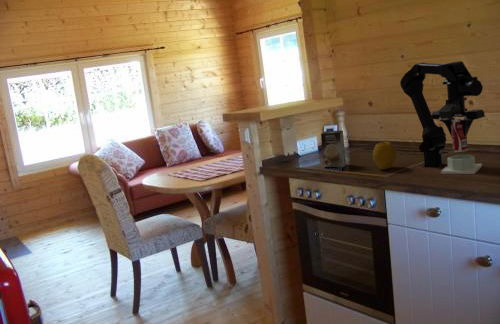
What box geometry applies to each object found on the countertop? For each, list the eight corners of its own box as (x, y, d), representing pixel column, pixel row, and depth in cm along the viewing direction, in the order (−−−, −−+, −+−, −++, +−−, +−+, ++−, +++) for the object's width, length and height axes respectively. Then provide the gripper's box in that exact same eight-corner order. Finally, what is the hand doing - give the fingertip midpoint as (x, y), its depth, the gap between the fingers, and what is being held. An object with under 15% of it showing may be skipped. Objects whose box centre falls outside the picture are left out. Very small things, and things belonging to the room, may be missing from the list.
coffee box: (323, 168, 238) (319, 133, 235) (327, 165, 243) (323, 131, 240) (343, 167, 234) (339, 132, 231) (347, 164, 239) (343, 129, 236)
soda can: (450, 151, 200) (448, 120, 198) (464, 149, 200) (461, 118, 198) (456, 152, 195) (453, 121, 193) (470, 150, 195) (467, 118, 193)
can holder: (441, 173, 198) (440, 160, 197) (449, 166, 207) (448, 154, 206) (474, 173, 191) (473, 160, 190) (481, 166, 200) (481, 153, 199)
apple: (396, 170, 213) (394, 142, 211) (372, 172, 216) (370, 144, 214) (398, 165, 222) (396, 138, 220) (375, 166, 225) (372, 140, 223)
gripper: (421, 100, 197) (424, 140, 200) (466, 98, 182) (469, 142, 185) (439, 95, 203) (441, 134, 206) (484, 93, 188) (486, 136, 191)
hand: (458, 137), depth 197 cm, fingers closed on soda can, 5 cm apart
